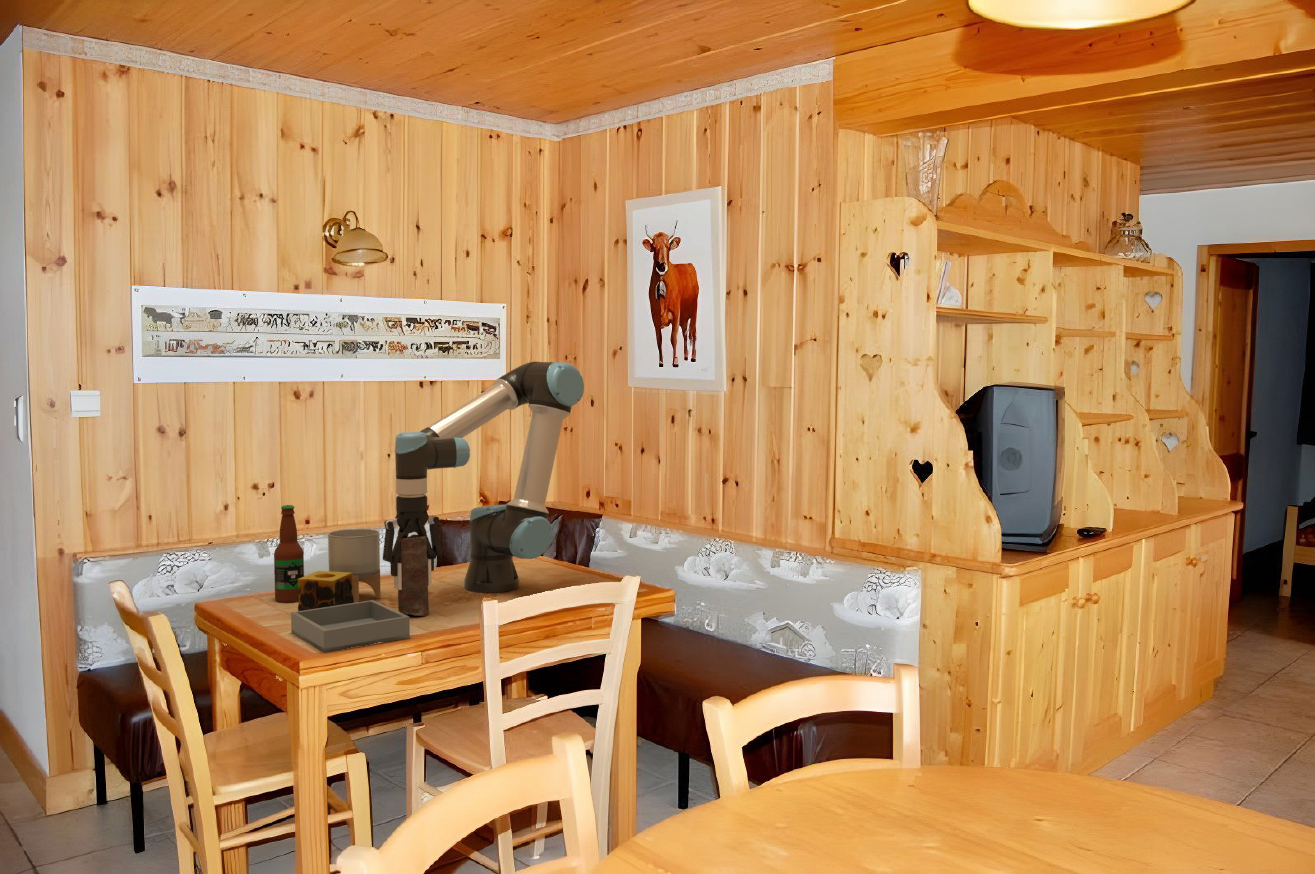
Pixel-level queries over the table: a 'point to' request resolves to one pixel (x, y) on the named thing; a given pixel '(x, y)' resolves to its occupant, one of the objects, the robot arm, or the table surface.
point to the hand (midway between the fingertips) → (412, 586)
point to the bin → (350, 625)
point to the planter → (356, 557)
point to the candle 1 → (325, 590)
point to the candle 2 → (414, 576)
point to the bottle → (288, 559)
